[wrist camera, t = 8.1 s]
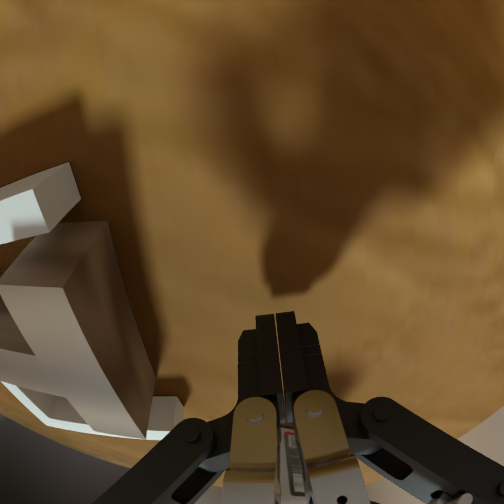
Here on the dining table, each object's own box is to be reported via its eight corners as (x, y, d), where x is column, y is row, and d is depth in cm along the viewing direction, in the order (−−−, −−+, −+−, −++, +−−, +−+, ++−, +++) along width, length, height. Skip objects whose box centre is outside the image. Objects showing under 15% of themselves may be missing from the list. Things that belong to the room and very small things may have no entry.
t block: (-34, 231, 11) (-79, 278, 7) (107, 220, 11) (62, 287, 8) (34, 362, 16) (14, 409, 13) (156, 378, 16) (146, 439, 13)
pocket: (-65, 219, 10) (-91, 243, 8) (69, 162, 9) (32, 188, 7) (55, 399, 19) (46, 425, 17) (183, 407, 18) (180, 440, 16)
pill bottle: (233, 445, 22) (235, 537, 15) (246, 423, 20) (250, 532, 13) (288, 447, 23) (297, 534, 16) (308, 425, 20) (323, 527, 13)
